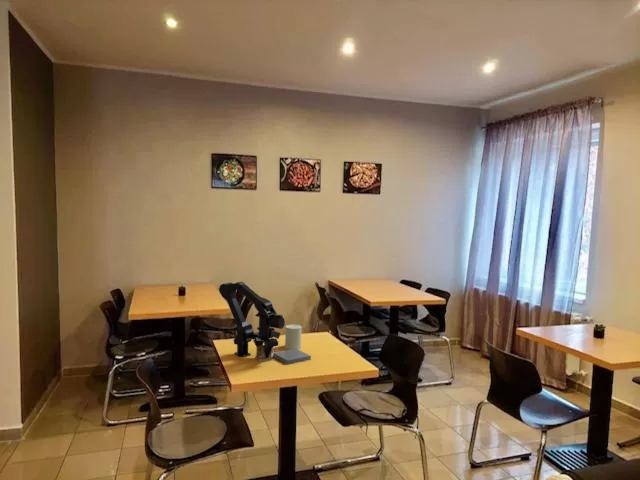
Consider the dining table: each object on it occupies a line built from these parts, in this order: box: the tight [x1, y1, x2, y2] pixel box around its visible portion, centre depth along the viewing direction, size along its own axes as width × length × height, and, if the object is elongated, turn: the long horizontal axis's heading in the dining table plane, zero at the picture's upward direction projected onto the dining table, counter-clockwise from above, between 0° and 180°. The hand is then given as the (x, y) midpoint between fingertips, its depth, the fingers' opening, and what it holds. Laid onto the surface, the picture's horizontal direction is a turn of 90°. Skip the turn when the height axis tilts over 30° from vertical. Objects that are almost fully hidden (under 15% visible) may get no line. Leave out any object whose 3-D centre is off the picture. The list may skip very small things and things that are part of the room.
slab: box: [272, 349, 312, 365], centre depth 233 cm, size 14×14×2 cm
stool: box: [254, 344, 273, 363], centre depth 230 cm, size 7×6×6 cm
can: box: [284, 324, 303, 350], centre depth 252 cm, size 9×9×12 cm
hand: (263, 356), depth 231 cm, fingers closed on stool, 6 cm apart
